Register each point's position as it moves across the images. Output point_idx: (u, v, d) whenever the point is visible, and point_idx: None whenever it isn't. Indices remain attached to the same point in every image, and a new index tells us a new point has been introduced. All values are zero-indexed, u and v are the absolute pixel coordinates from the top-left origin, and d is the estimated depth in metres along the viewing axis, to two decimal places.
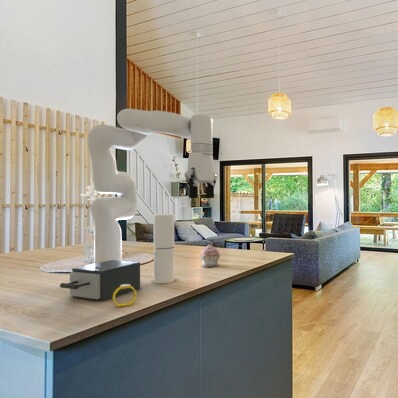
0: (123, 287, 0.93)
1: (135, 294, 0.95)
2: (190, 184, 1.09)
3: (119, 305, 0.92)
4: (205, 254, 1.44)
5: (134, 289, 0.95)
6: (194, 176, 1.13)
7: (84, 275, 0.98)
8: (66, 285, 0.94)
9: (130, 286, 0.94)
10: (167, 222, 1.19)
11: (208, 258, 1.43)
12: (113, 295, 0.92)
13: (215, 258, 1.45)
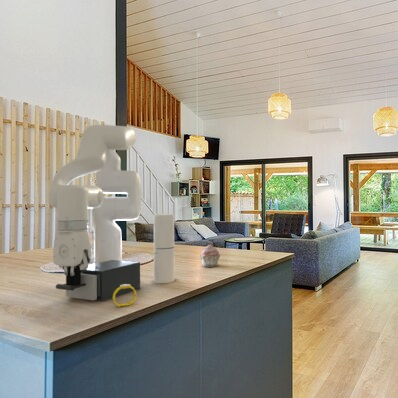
0: (123, 287, 0.93)
1: (135, 294, 0.95)
2: (78, 273, 0.95)
3: (119, 305, 0.92)
4: (205, 254, 1.44)
5: (134, 289, 0.95)
6: None
7: (80, 276, 0.97)
8: (62, 286, 0.93)
9: (130, 286, 0.94)
10: (167, 222, 1.19)
11: (208, 258, 1.43)
12: (113, 295, 0.92)
13: (215, 258, 1.45)
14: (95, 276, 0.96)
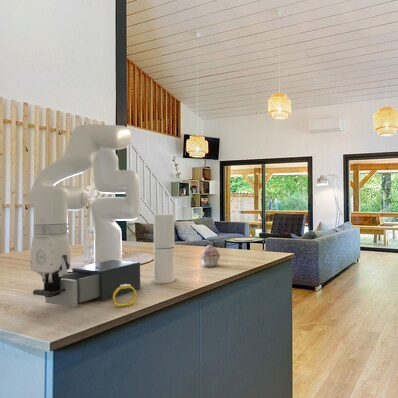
0: (123, 287, 0.93)
1: (135, 294, 0.95)
2: (57, 279, 0.90)
3: (119, 305, 0.92)
4: (205, 254, 1.44)
5: (134, 289, 0.95)
6: None
7: (60, 281, 0.92)
8: (39, 292, 0.87)
9: (130, 286, 0.94)
10: (167, 222, 1.19)
11: (208, 258, 1.43)
12: (113, 295, 0.92)
13: (215, 258, 1.45)
14: (75, 281, 0.91)
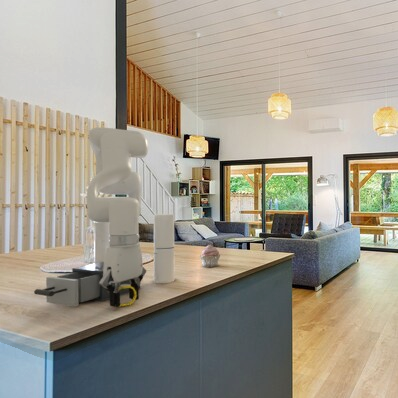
0: (123, 287, 0.93)
1: (135, 294, 0.95)
2: (110, 291, 0.89)
3: None
4: (205, 254, 1.44)
5: (134, 289, 0.95)
6: None
7: (61, 281, 0.92)
8: (41, 292, 0.88)
9: (130, 286, 0.94)
10: (167, 222, 1.19)
11: (208, 258, 1.43)
12: None
13: (215, 258, 1.45)
14: (76, 281, 0.91)
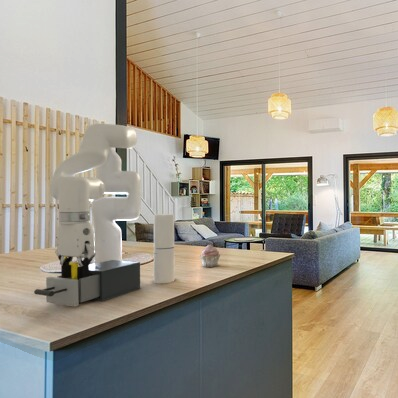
0: None
1: (73, 273, 0.94)
2: None
3: None
4: (205, 254, 1.44)
5: (72, 268, 0.94)
6: None
7: (61, 281, 0.92)
8: (40, 292, 0.88)
9: (73, 264, 0.95)
10: (167, 222, 1.19)
11: (208, 258, 1.43)
12: None
13: (215, 258, 1.45)
14: (76, 281, 0.91)
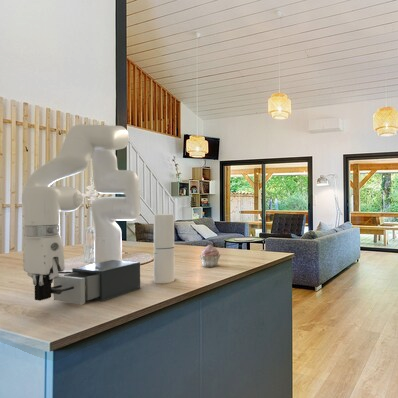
0: None
1: None
2: None
3: None
4: (205, 254, 1.44)
5: None
6: None
7: (68, 279, 0.94)
8: None
9: None
10: (167, 222, 1.19)
11: (208, 258, 1.43)
12: None
13: (215, 258, 1.45)
14: (83, 279, 0.93)
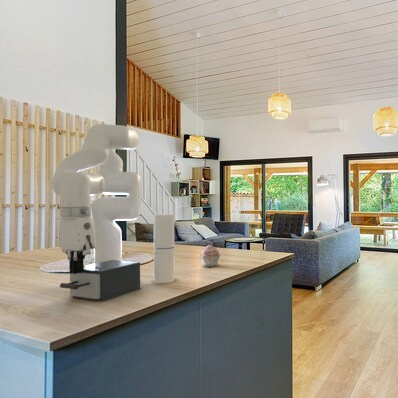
0: None
1: None
2: None
3: None
4: (205, 254, 1.44)
5: None
6: None
7: (84, 275, 0.98)
8: (66, 285, 0.94)
9: None
10: (167, 222, 1.19)
11: (208, 258, 1.43)
12: None
13: (215, 258, 1.45)
14: (99, 275, 0.97)
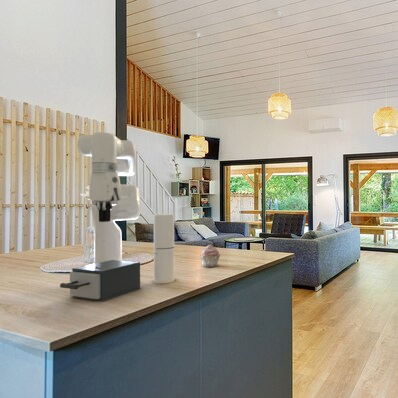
0: None
1: None
2: None
3: None
4: (205, 254, 1.44)
5: None
6: None
7: (84, 275, 0.98)
8: (66, 285, 0.94)
9: None
10: (167, 222, 1.19)
11: (208, 258, 1.43)
12: None
13: (215, 258, 1.45)
14: (99, 275, 0.97)
